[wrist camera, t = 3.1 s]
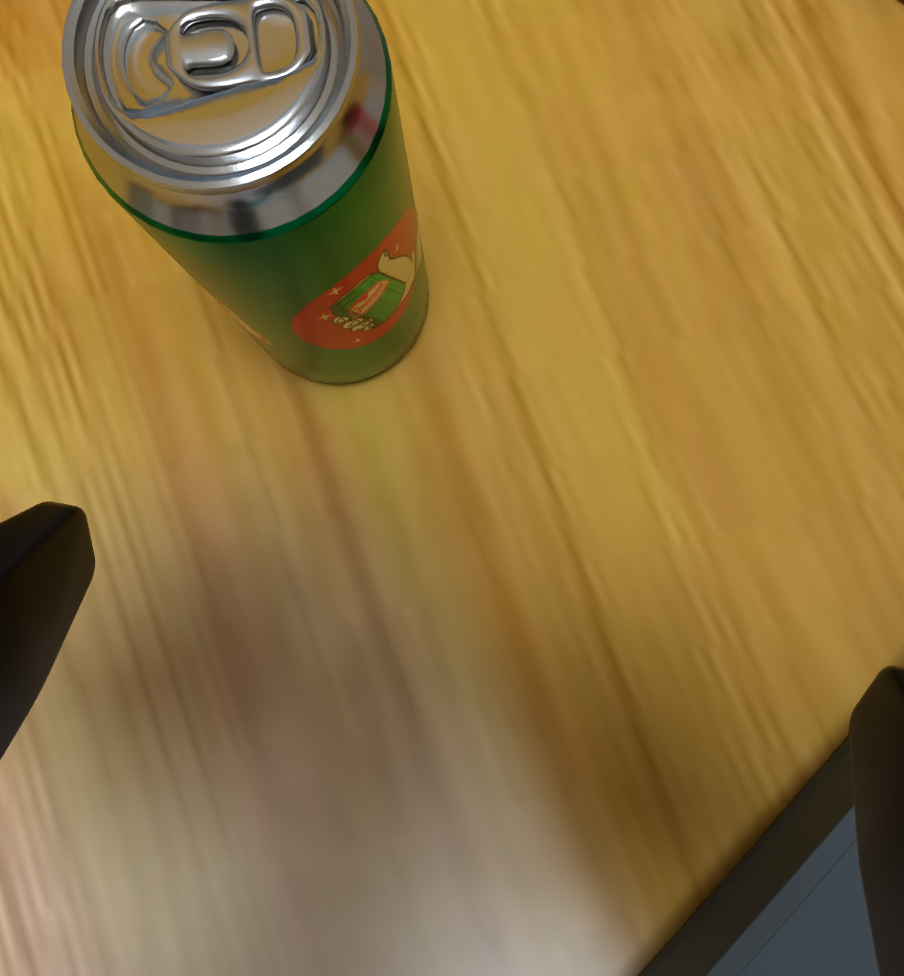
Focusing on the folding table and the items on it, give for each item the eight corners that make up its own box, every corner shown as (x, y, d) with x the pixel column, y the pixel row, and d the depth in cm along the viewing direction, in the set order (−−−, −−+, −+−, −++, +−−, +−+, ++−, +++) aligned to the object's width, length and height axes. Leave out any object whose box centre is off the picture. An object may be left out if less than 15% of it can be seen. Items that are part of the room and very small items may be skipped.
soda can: (243, 229, 24) (17, -95, 12) (416, 203, 24) (360, -148, 12) (265, 399, 24) (51, 239, 12) (441, 374, 24) (406, 186, 12)
